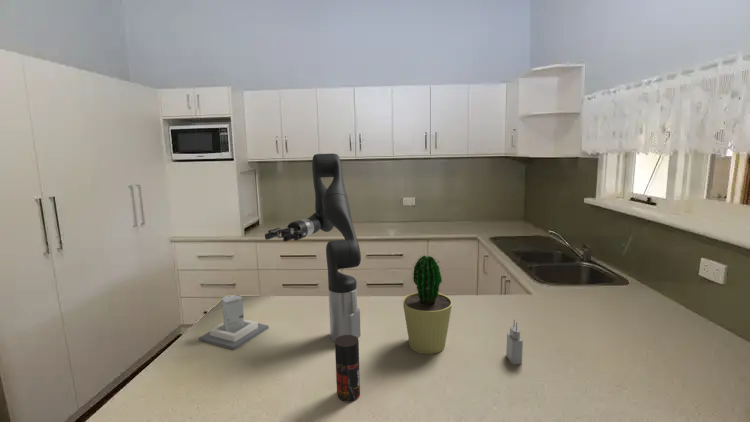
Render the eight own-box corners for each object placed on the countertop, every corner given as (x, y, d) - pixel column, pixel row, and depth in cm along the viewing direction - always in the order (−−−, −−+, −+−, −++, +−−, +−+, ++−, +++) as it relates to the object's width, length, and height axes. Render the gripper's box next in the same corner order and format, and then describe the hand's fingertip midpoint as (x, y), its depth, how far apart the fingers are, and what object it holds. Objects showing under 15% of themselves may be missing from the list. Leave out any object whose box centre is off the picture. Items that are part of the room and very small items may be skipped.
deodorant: (337, 388, 102) (335, 335, 99) (359, 386, 102) (358, 334, 100) (336, 402, 96) (334, 347, 93) (360, 401, 96) (359, 345, 94)
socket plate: (268, 328, 136) (268, 320, 136) (234, 350, 122) (234, 341, 122) (234, 320, 143) (234, 312, 143) (199, 340, 129) (198, 331, 128)
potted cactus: (461, 343, 123) (462, 252, 118) (433, 363, 112) (434, 264, 107) (422, 328, 134) (422, 244, 129) (393, 345, 123) (392, 255, 118)
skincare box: (227, 336, 129) (223, 302, 127) (223, 331, 133) (220, 297, 131) (245, 331, 133) (242, 297, 131) (241, 326, 136) (239, 293, 134)
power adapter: (515, 353, 117) (517, 316, 115) (522, 363, 111) (524, 325, 109) (505, 354, 116) (506, 317, 114) (512, 364, 111) (513, 325, 109)
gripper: (286, 218, 160) (259, 226, 145) (314, 221, 154) (289, 229, 139) (287, 236, 161) (260, 245, 147) (315, 239, 155) (290, 249, 141)
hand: (274, 237), depth 143 cm, fingers open, 8 cm apart
